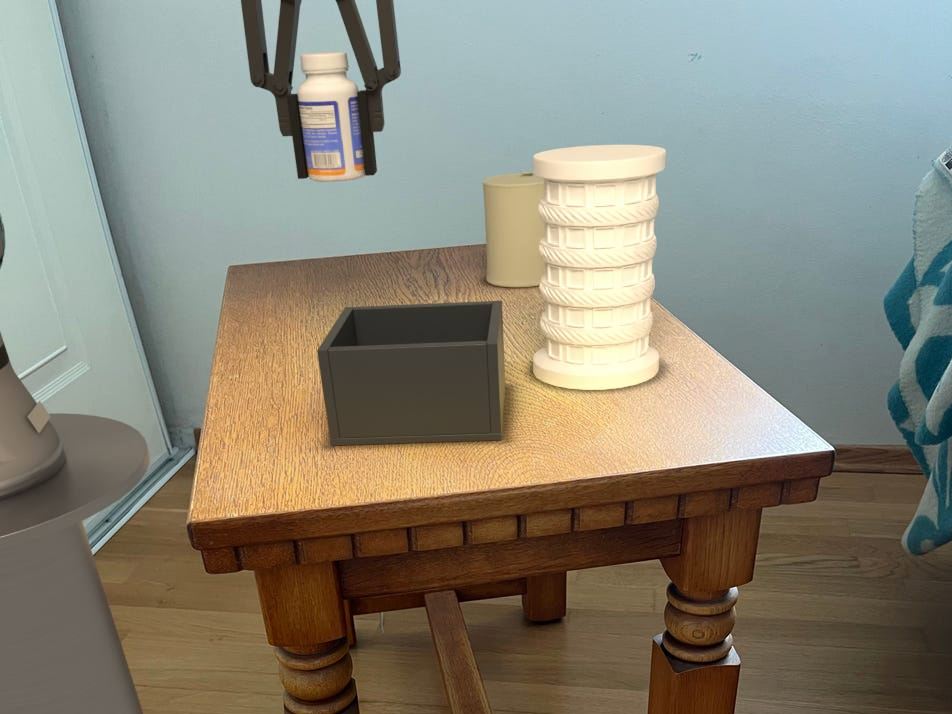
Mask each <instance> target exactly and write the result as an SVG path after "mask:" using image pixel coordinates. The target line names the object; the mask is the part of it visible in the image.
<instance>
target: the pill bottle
mask: <svg viewBox="0 0 952 714" xmlns="http://www.w3.org/2000/svg"><path fill="white" fill-rule="evenodd" d="M347 53H348V52H346V51H328V52H310V53H309V52H308V53H301V54H300V66H301V67H300V68H301V71H302V74H303V75H305V81H304V82H303V83H301V84H299V86H298V88H297V93H296V94H297V96H298V104H299V111H300V119H301V126H302V133H303V141H304V148H305V155H306V163H307V170H308V175H309V177H308V178H309V179H310V180H311V181H314V182H318V183H319V182H320V183H330V182H332V183H333V182H345V181H352V180H353V181H354V180H359V179H362V178H364V177H365V166H364V156H363V146H362V136H361V126H360V117H359V107H358V97H357V92H359V91H360V90H359V87H358V86H357V84H356V82H354V81H353V80H351V79H349V78H348V76H347V72H348V71H349V67H350V66H349V60H348V59H349V58H348V54H347Z"/></svg>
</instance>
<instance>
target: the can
mask: <svg viewBox="0 0 952 714" xmlns="http://www.w3.org/2000/svg"><path fill="white" fill-rule="evenodd" d="M482 189H483V191H482V192H483V201H484V202H483V205H484V223H485V224H484V225H485V226H484V227H485V244H486V245H485V246H486V278H485V279H486V282H487V283H488V284H490V285H493V286H496V287H502V288H531V287H540V282H541V278H542V276H544V275H545V262H544V261H543V260H542V259H541V258H540V252H539V245H540V241H541V238H543V237H544V236H545V231H544V221H542V220H541V219H540V215H539V211H538V206H539V202H540V199H541V198H543V197H544V178H541V177H538V176H536V175H535V174H534V172H533V171H520V173H519V172H517V173H505V174H499V175H494V176H489V177H486V178H484V179H483V180H482Z"/></svg>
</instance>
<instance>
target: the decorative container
mask: <svg viewBox="0 0 952 714" xmlns="http://www.w3.org/2000/svg"><path fill="white" fill-rule="evenodd" d="M666 157H667V151H666V148H663V147H661V146H656V145H648V144H647V145H646V144H593V145H592V144H591V145H581V146H580V145H579V146H570V147H561V148H554V149H549V150H544V151H539V152H537V153H535V154H534V155H533V157H532V162H533V163H532V165H533V166H532V168H533V169H532V170H533V173H534V174H535V175H536V176H538V177H541V178H544V197H543V198H541V199H540V202H539V206H538V211H539V215H540V219H541V220H542V221H544V231H545V236H544V237H543V238H541V241H540V245H539V252H540V258H541V259H542V260H543V261H544V262H545V275H544V276H542V278H541V282H540V286H538V287H539V293H540V297H541V298H542V299H543V300H544V301H545V302H544V303H545V304H544V306H545V308H544V309H545V310H544V311H543V312H542V313H541V317H540V321H539V327H540V330H541V334H542V335H543V337H544V338H545V346H543V347H541V348H540V349H539V350H537V351H536V352H535V353H534V354H533V358H532V371H533V372H532V373H533V374H534V376H535V378H536V379H537V380H539V381H541V382H542V383H545V384H548V385H551V386H554V387H558V388H563V389H570V390H583V391H604V390H615V389H622V388H626V387H627V388H628V387H631V386H636V385H640V384H643V383H644V382H647V381H649V380H650V379H652V378H654V377H656V375H657V374H658V372H659V371H660V370H659V368H660V352H659V351H658V350H657V349H656V348H655V347H653V346H651V345H649V343H650V341H649V339H650V333H651V331H652V329H653V324H654V316H653V311H652V310H651V301H652V298H651V297H652V295H653V294H654V290H655V287H656V280H655V275H654V273H653V257H654V256H656V251H657V248H658V241H657V236H656V234H655V217H656V216H658V211H659V208H660V207H659V206H660V201H659V196H658V193H657V175H658V173H660V172H662V171H664V170H665V169H666Z"/></svg>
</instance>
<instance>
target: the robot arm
mask: <svg viewBox="0 0 952 714" xmlns="http://www.w3.org/2000/svg"><path fill="white" fill-rule="evenodd" d="M279 1H280V3H279V15H278V16H279V17H278V23H277V24H278V25H277V35H276V45H275V54H274V55H275V56H274V66H273V73H272V72H270V64H269V57H268V56H269V55H268V46H267V38H266V28H265V19H264V11H263V3H262V2H263V1H262V0H240V3H241V4H240V6H241V12H242V13H241V14H242V21H243V22H242V23H243V30H244V37H245V38H244V39H245V46H246V55H247V62H248V70H249V77H250V79H249V80H250V82H251V84H252V86H254V87H255V88H260V89H262V90H266V91H268V92H269V93H271V94H272V95H273V97H274V100H275V107H276V113H277V122H278V128H279V132H280V133H281V135H282V137H292V145H293V152H294V160H295V167H296V173H297V179H298V180H303V179H304V180H305V179H308V178H309V175H308V170H307V163H306V155H305V148H304V141H303V133H302V126H301V119H300V111H299V104H298V96H297V93H292V91H293V88H294V86H293V77H294V67H295V58H296V50H297V40H298V39H297V38H298V32H299V22H300V21H299V20H300V13H301V12H300V11H301V5H302V2H303V0H279ZM335 2H336V4H337V7H338V10H339V13H340V18H341V19H342V22H343V25H344V28H345V30H346V31H345V32H346V34H347V37H348V40H349V43H350V45H351V48H352V51H353V53H354V57H355V60H356V63H357V66H358V69H359V72H360V74H361V78H362V80H363V83H364V84H363V87H364V88H365V89H361V90H359V92H357V97H358V107H359V117H360V126H361V136H362V146H363V156H364V166H365V176H375V175H376V174H377V172H378V167H377V155H376V145H375V136H374V133H381V132H383V131H384V127H385V125H386V124H385V113H384V112H385V111H384V101H383V89H384V87H385V86H386V85H387V84H389V83H392V82H393V81H396V80H397V79H399V78H400V76H401V74H402V68H401V60H400V51H399V50H400V49H399V42H398V41H399V40H398V31H397V21H396V13H395V4H394V3H395V2H394V0H375V3H376V14H377V20H378V29H379V39H380V46H381V54H382V64H383V66H382V68H378V66H377V65H378V64H377V62H376V60H375V57H374V54H373V50H372V48H371V45H370V41H369V39H368V36H367V33H366V30H365V27H364V24H363V21H362V18H361V15H360V11H359V8H358V5H357V3H356V0H335ZM365 176H364V177H365ZM1 214H2V213H0V269H2V265H3V262H4V258H5V251H6V231H5V225H4V223H3V217H2V215H1ZM1 332H2V331H0V501H1V500H4V499H7V498H9V497H12V496H15V495H17V494H20V493H22V492H25V491H27V490H29V489H31V488H33V487H35V486H37V485H39V484H41V483H42V482H44V481H46V480H47V479H49V478H50V477H51V476H53V475H54V474H55V473H56V472H57V471H58V470H59V469H60V468H61V467H62V465H63V464H64V462H65V458H66V457H65V452H64V449H63V446H62V443H61V440H60V437H59V435H58V434H57V432H56V430H55V428H54V426H53V425H52V424H51V423H50V422H49V418H50V415H49V414H50V413H49V412H48V410H47V409H46V408H45V406H44V405H43V403H42V402H41V400H39V401H38V402H37V401H36V400H35V397H33V396H32V394H31V393H30V391H29V390H28V389H27V387H26V386H25V384H24V383H23V382H22V380H21V378H20V377H19V376H18V374H17V373H16V372H15V370H14V367H13V365H12V363H11V360H10V357H9V353H8V350H7V348H6V345H5V342H4V339H3V335H2V333H1Z"/></svg>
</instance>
